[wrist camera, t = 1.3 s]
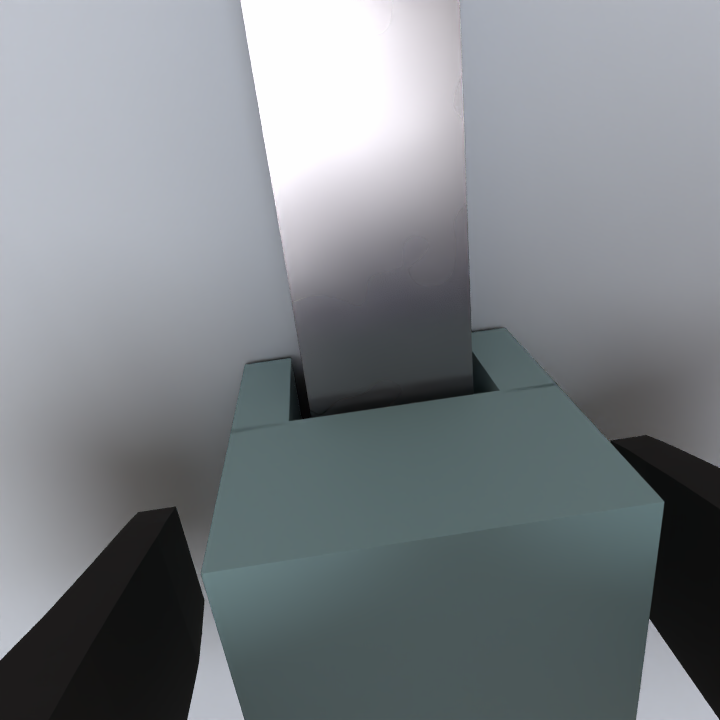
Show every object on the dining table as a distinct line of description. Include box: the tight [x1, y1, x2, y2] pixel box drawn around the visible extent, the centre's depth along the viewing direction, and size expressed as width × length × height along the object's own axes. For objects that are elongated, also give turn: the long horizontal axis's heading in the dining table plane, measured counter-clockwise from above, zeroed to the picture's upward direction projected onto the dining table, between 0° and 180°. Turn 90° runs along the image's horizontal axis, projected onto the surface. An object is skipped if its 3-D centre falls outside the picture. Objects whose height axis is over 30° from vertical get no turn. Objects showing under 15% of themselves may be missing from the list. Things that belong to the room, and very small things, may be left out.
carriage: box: [201, 328, 664, 720], centre depth 9 cm, size 5×5×5 cm
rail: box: [241, 0, 474, 418], centre depth 8 cm, size 4×17×3 cm, turn 6°
